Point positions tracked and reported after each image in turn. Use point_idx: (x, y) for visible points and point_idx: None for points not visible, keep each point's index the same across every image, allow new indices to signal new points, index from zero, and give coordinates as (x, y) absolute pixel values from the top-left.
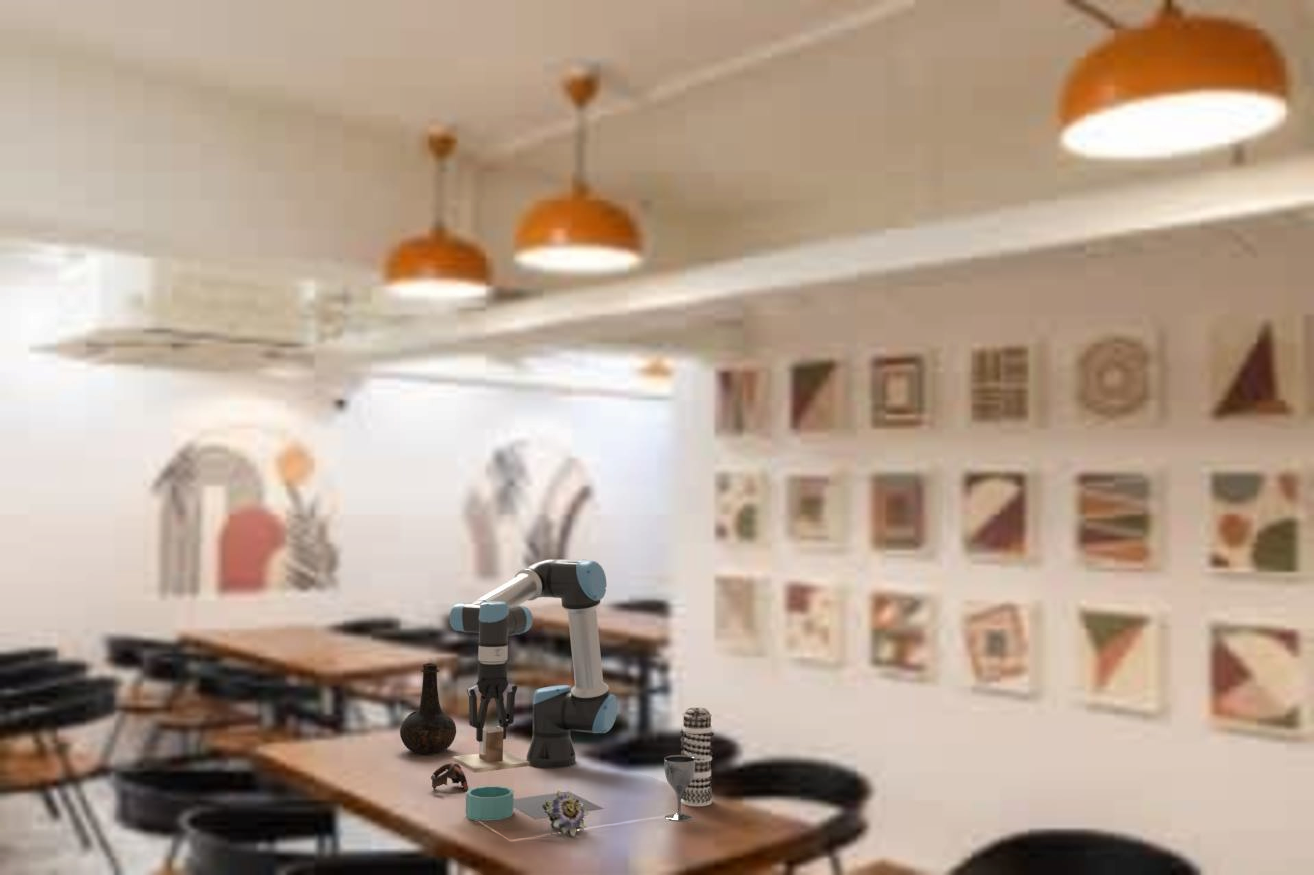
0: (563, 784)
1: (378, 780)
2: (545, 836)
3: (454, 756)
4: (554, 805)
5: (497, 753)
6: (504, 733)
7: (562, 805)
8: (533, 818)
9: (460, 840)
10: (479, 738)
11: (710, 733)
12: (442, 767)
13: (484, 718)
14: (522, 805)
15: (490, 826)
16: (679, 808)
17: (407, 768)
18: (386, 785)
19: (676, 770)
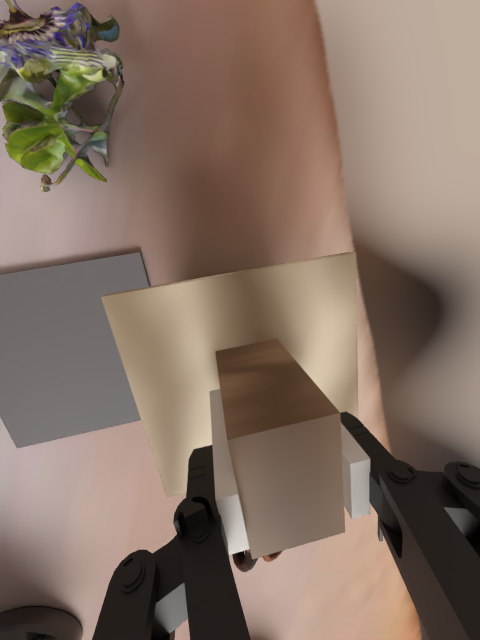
0: (23, 506)
1: (343, 557)
2: (139, 104)
3: None
4: (77, 18)
5: (244, 359)
6: (199, 476)
7: (43, 30)
8: (141, 259)
9: (334, 163)
10: (354, 424)
11: None
12: (276, 552)
13: (439, 561)
14: None
15: (247, 246)
16: None
17: (286, 608)
18: (341, 533)
19: None
